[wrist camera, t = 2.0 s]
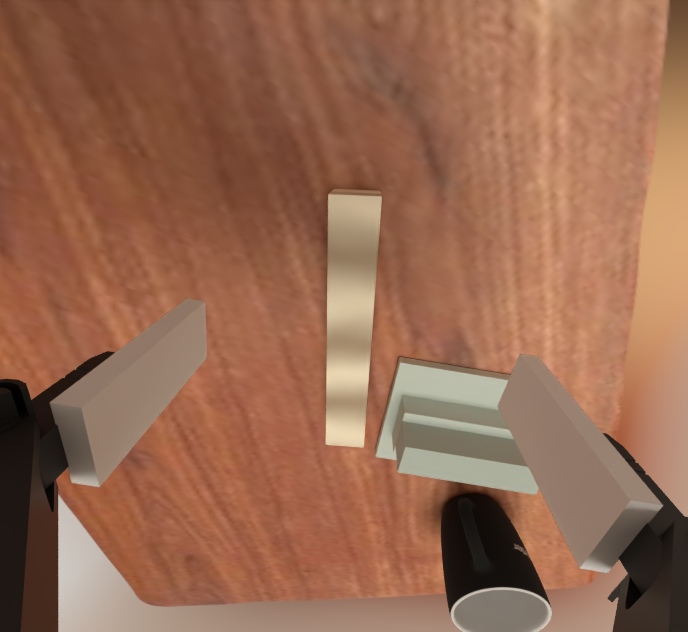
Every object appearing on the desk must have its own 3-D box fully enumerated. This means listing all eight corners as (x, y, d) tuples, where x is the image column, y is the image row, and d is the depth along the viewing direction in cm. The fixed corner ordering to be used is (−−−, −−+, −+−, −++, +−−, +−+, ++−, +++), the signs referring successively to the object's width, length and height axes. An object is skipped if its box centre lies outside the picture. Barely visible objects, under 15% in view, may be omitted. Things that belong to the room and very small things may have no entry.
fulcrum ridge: (399, 356, 32) (405, 401, 26) (547, 380, 32) (586, 431, 26) (375, 449, 37) (376, 504, 31) (502, 470, 37) (527, 529, 31)
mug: (517, 527, 41) (560, 635, 32) (444, 540, 43) (464, 645, 34) (495, 458, 37) (537, 560, 27) (414, 476, 39) (428, 577, 29)
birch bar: (334, 188, 26) (328, 194, 22) (380, 190, 26) (381, 196, 22) (330, 411, 36) (325, 444, 32) (364, 414, 36) (363, 447, 32)
